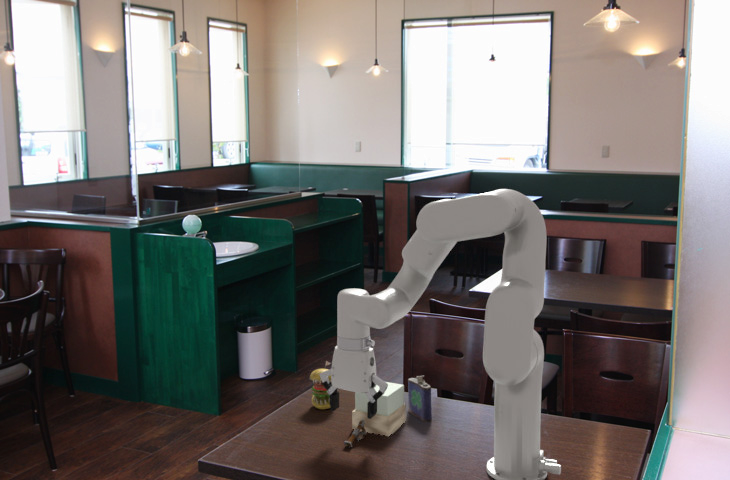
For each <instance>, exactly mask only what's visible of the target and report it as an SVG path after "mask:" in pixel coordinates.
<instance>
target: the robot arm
mask: <svg viewBox="0 0 730 480" xmlns="http://www.w3.org/2000/svg"><path fill="white" fill-rule="evenodd" d="M416 217H417V218H416V222H415V223H416V230H415V232H414V233H413V234H412V236H411V237H410V239H409V240H408V241H407V243H406V244H405V246H404V247H403V248H402V251H401V256H402V259H403V262H402V266H401V268H400V270H399V272H398V273H397V275H395V278H394V279H393V280H392V281H391V283H390V284H389V285H388V287H387V288H386V289H384V290H382V291H379V292H378V293H375V294H371V295H370V293H369V292H368V291H367V290H366V289H362V288H355V287H354V288H344V289H342V290H340V291H339V292H338V294H337V300H336V301H337V305H336V306H337V309H336V311H337V312H336V313H337V315H336V316H337V321H336V324H337V326H336V328H337V329H336V330H337V331H336V333H337V336H336V337H337V338H336V339H337V340H336V346H334V351H333V355H332V361H331V368H330V369H329V370H327V371H325V372H323V373H321V374H320V378H321V380H322V382H323V386H324V387H325V388H326V390H327V393H328V394H329V395H330V408H329V409H330V412H334V411H336V410H337V409H339V407H340V391H339V390H344V391H348V392H353V393H355V392H358V393H365V394H366V396H367V397H368V399H369V400H370V401H369V402H368V404H367V418H368V419H371V418H372V417H373V416H375V414H376V413H377V399H379V398H380V397H381V396H382V395H383V394H384V392H385V391H386V389H387V387H388V384H387V383H386V382H387V381H385V380H383V379H381V378H380V377H379V376H378V375H377V364H376V358H375V351H374V347H375V344H376V342H375V340H373V339H372V338H371V330H370V329H371V328H373V329H379V330H380V329H385V328H388V327H389V326H392V324H395V322H397V321H399V320H401V319H403V318H404V317H405V316H406V315H407V314H409V312H410V311H411V310H412V309H413V307H414V306H415V304H416V303H417V302H418V301H419V299H420V298H421V297H422V295H424V294H423V293H424V292H425V291H426V290H427V288H428V286H429V284H430V282H431V281H432V279H433V277H434V275H435V272H437V270H438V268H439V267H440V266H441V264H442V263H443V262H444V260H445V259H446V257H447V256H448V255H449V253H450V251H451V252H452V249H453V248H454V247H455V245H456V244H457V243H458V242H462V241H463V242H464V241H469V240H476V239H483V238H489V237H494V236H498V235H501V234H503V233H504V247H503V251H502V252H503V253H502V271H501V280H500V283H499V285H497V286H496V287H495V288H494V289H493V290H492V291H491V292H490V294H489V296H488V299H487V300H486V301H487V302H486V305H485V310H484V311H485V313H484V326H483V327H484V328H483V330H484V331H483V343H482V344H483V347H482V362H483V367H484V370H485V372H486V373H487V375H488V376H489V377H490V379H491V380H492V381H494V399H493V400H494V401H493V402H494V403H493V404H494V405H493V408H494V409H493V410H494V411H493V425H494V426H493V457H491V458H490V459H489V460H487V462H486V467H485V468H486V472H487V474H488V475H489V477H491V478H492V479H494V480H546V478H547V476H548V473H550V474H554V475H561V473H562V465H561V464H558V460H557V459H553V458H550V459H549V458H547V457H546V456H544V452H545V451H544V450H543V449H541V423H542V422H541V420H542V417H541V415H542V413H541V412H542V408H541V407H542V383H543V370H544V360H545V347H544V343H543V342H544V341H543V340H542V337H541V335H540V334H539V333H538V332H537V331H536V330H535V329H534V328H535V319H536V318H537V317H538V316H539V315H540V313H541V312H542V310H543V307H544V303H545V281H546V280H545V279H546V256H547V239H548V238H547V227H546V221H545V219H544V216H543V214H542V212H541V210H540V208H539V207H538V206H537V204H536V203H535V202H534V201H533V200H532V199H531V198H529V197H528V196H527V195H525V194H523V193H521V192H520V191H518V190H514V189H510V188H509V189H508V188H499V189H495V190H492V191H488V192H484V193H479V194H474V195H469V196H464V197H458V198H452V199H451V198H444V199H440V200H439V199H438V200H436V201H435V200H434V201H431V202H429V203H427V204H425V205H423V207H422V208H421V209H420V211H419V213H418V215H417V216H416ZM330 375H331V382H330V380H329V379H328V376H330ZM376 385H378V386H379V391H378V392H376V390H375V389H374V388H375V387H376Z"/></svg>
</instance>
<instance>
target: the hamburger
mask: <svg viewBox="0 0 730 480" xmlns="http://www.w3.org/2000/svg"><path fill="white" fill-rule="evenodd" d="M329 365H332V362H329V361H327V360H326V361H325V367H324V368H317V369H314V370H313V371H312V372H311V373H310V375H309V380H310V381H312V383H313V385H312V387H311V391H312V392H311V394H312V397H311V404H312V405H313V407H315V408H316V409H318V410H327V409H328V410H329V409H330V395H329V394H328V393H327V390H326V388H325V387H324V386H323V382H322V380H321V378H320V374H321V373H323V372H325V371H327V370H330V369H328V368H326V367H327V366H329ZM328 379H329V380H330V382H331V375H330V376H328Z"/></svg>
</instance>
